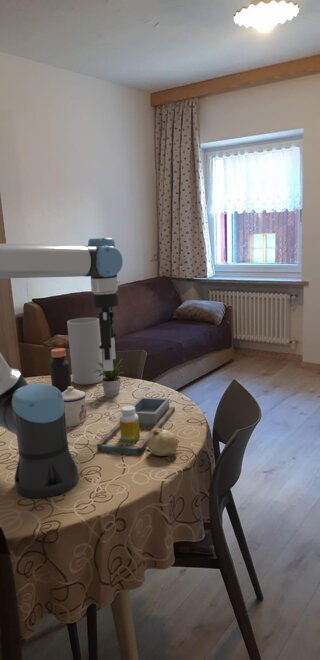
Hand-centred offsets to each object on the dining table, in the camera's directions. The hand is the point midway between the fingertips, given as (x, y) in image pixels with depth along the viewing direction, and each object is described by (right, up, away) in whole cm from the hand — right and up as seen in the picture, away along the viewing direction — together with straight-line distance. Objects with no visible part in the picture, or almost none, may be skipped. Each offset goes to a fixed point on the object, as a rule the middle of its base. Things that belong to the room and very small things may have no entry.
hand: (109, 364), depth 149 cm
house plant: (-4, -14, +38) cm, 41 cm away
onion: (+16, -23, -14) cm, 31 cm away
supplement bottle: (+6, -22, -4) cm, 23 cm away
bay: (+9, -20, +3) cm, 22 cm away
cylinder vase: (-14, -11, +57) cm, 60 cm away
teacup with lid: (-13, -19, +15) cm, 27 cm away
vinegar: (-19, -16, +30) cm, 39 cm away
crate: (+11, -17, +11) cm, 24 cm away
